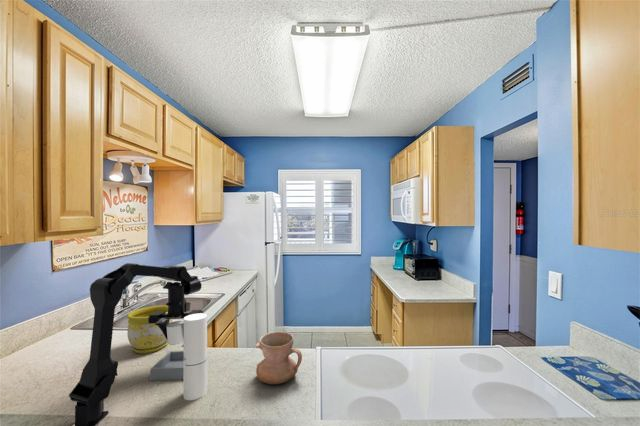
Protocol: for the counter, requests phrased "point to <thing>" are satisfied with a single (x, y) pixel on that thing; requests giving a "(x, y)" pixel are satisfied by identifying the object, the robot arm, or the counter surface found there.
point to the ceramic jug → (277, 358)
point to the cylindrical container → (195, 356)
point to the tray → (169, 367)
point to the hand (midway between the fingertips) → (176, 338)
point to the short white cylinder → (175, 332)
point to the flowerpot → (146, 330)
